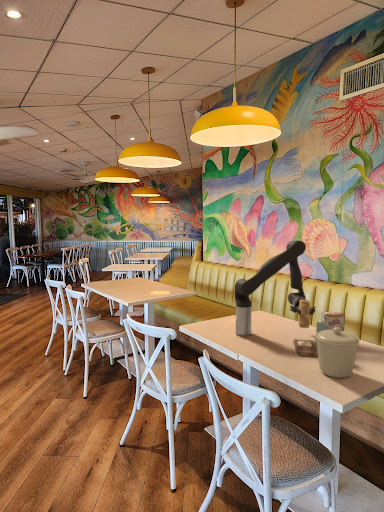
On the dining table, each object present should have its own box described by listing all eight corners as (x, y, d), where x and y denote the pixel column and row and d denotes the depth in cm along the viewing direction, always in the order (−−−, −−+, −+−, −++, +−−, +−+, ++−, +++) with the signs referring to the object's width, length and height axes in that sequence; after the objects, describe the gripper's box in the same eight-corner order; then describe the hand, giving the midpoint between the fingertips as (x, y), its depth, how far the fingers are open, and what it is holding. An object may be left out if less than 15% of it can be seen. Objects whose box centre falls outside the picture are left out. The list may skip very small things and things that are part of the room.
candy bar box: (323, 342, 185) (324, 314, 183) (320, 339, 190) (321, 311, 188) (344, 343, 184) (345, 314, 182) (341, 339, 189) (342, 312, 187)
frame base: (297, 355, 167) (298, 325, 165) (293, 342, 185) (294, 314, 183) (331, 357, 164) (332, 326, 163) (323, 344, 182) (324, 316, 180)
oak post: (300, 327, 175) (301, 301, 173) (298, 324, 179) (299, 299, 177) (309, 328, 174) (309, 302, 172) (307, 325, 178) (308, 300, 177)
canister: (305, 370, 150) (307, 326, 148) (328, 361, 161) (330, 318, 158) (343, 386, 135) (345, 337, 133) (366, 375, 146) (368, 328, 144)
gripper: (287, 298, 190) (291, 305, 174) (313, 299, 188) (319, 306, 171) (287, 310, 191) (291, 319, 174) (313, 311, 189) (319, 320, 172)
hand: (305, 313), depth 173 cm, fingers closed on oak post, 4 cm apart
